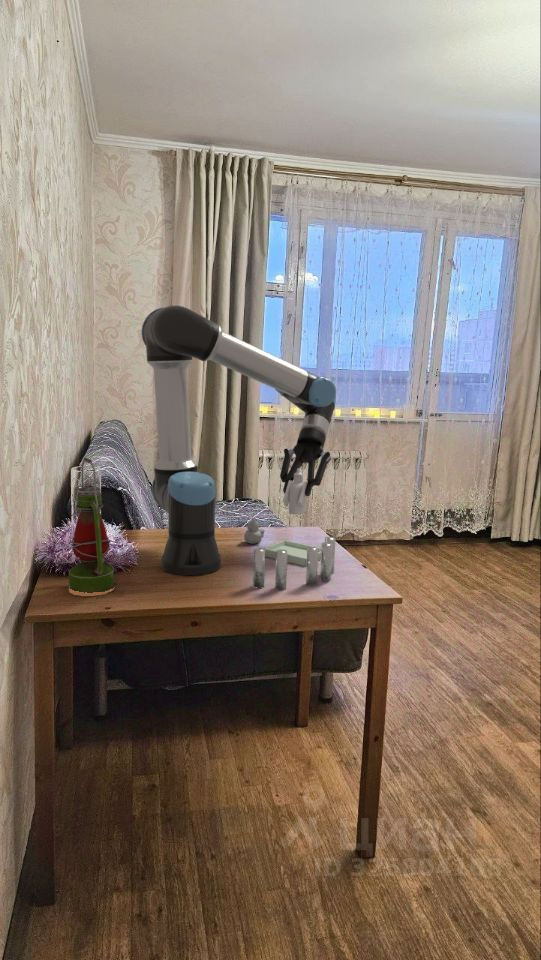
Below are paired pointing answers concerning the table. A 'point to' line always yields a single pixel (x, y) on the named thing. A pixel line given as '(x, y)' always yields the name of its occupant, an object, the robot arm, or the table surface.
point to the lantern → (90, 543)
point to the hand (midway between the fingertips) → (293, 504)
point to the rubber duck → (253, 532)
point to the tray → (291, 551)
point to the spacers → (311, 569)
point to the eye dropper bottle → (296, 494)
